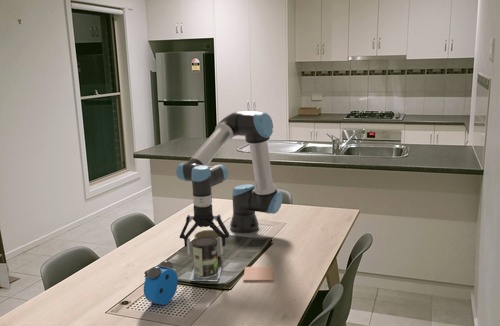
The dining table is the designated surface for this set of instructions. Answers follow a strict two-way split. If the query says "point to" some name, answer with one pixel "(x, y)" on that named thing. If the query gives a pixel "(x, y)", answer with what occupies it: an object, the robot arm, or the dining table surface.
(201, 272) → the coffee can
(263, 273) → the pad
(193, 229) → the robot arm
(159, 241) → the dining table surface
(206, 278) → the pad
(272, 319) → the dining table surface
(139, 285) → the dining table surface
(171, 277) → the alarm clock
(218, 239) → the planter
